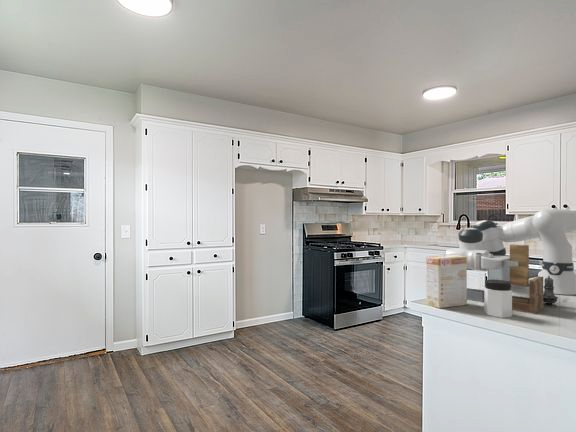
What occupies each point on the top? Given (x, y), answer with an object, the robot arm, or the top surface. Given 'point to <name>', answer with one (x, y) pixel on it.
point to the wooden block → (521, 272)
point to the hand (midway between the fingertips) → (520, 263)
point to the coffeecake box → (446, 281)
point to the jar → (498, 298)
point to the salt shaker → (549, 293)
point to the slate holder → (475, 295)
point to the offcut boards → (520, 300)
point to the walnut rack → (531, 297)
